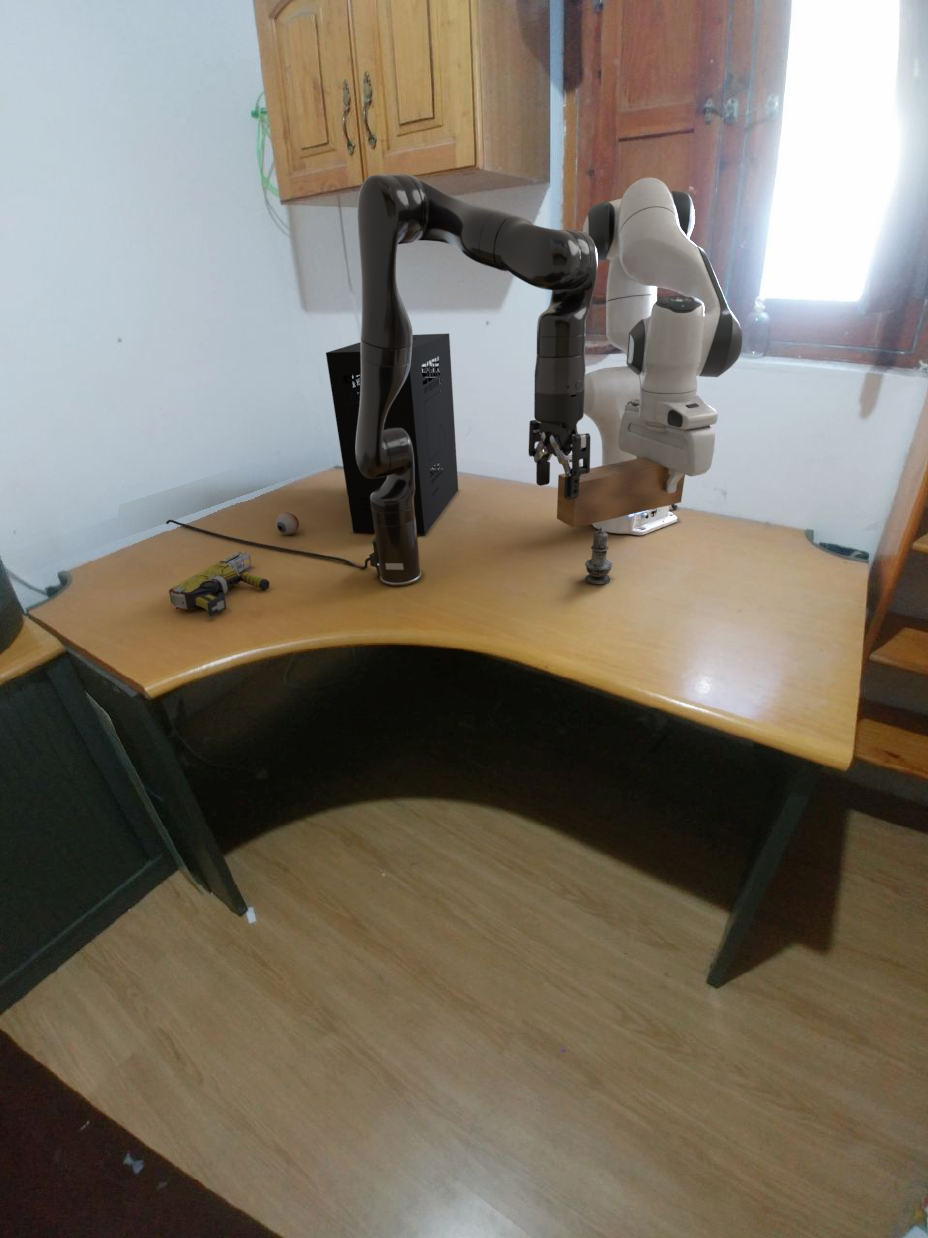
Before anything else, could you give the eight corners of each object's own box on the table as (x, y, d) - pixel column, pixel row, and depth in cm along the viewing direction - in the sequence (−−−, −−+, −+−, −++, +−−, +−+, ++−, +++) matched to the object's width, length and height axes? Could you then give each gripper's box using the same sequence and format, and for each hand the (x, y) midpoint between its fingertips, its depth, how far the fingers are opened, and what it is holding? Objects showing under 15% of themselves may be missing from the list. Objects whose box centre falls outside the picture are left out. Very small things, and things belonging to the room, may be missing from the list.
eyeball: (273, 537, 164) (268, 516, 161) (287, 528, 169) (282, 508, 166) (291, 539, 161) (286, 518, 158) (305, 530, 166) (301, 510, 163)
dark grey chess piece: (611, 585, 129) (615, 533, 123) (583, 584, 130) (586, 532, 124) (611, 573, 134) (615, 522, 128) (584, 572, 135) (587, 521, 129)
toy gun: (290, 560, 142) (237, 549, 146) (223, 603, 122) (163, 589, 126) (292, 578, 144) (239, 566, 148) (226, 623, 124) (167, 609, 128)
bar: (661, 494, 113) (667, 452, 108) (681, 502, 109) (687, 459, 104) (556, 518, 105) (558, 474, 101) (573, 528, 101) (575, 483, 97)
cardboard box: (424, 535, 159) (408, 350, 137) (353, 532, 164) (325, 352, 141) (458, 489, 191) (449, 333, 168) (397, 488, 195) (380, 335, 173)
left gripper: (514, 383, 95) (515, 484, 103) (564, 396, 84) (560, 508, 92) (555, 378, 98) (552, 476, 106) (608, 390, 86) (601, 499, 94)
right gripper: (612, 398, 108) (607, 474, 115) (695, 421, 92) (682, 507, 99) (641, 394, 110) (633, 468, 117) (726, 415, 94) (712, 500, 101)
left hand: (556, 491), depth 99 cm, fingers open, 8 cm apart
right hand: (656, 486), depth 108 cm, fingers closed on bar, 5 cm apart
